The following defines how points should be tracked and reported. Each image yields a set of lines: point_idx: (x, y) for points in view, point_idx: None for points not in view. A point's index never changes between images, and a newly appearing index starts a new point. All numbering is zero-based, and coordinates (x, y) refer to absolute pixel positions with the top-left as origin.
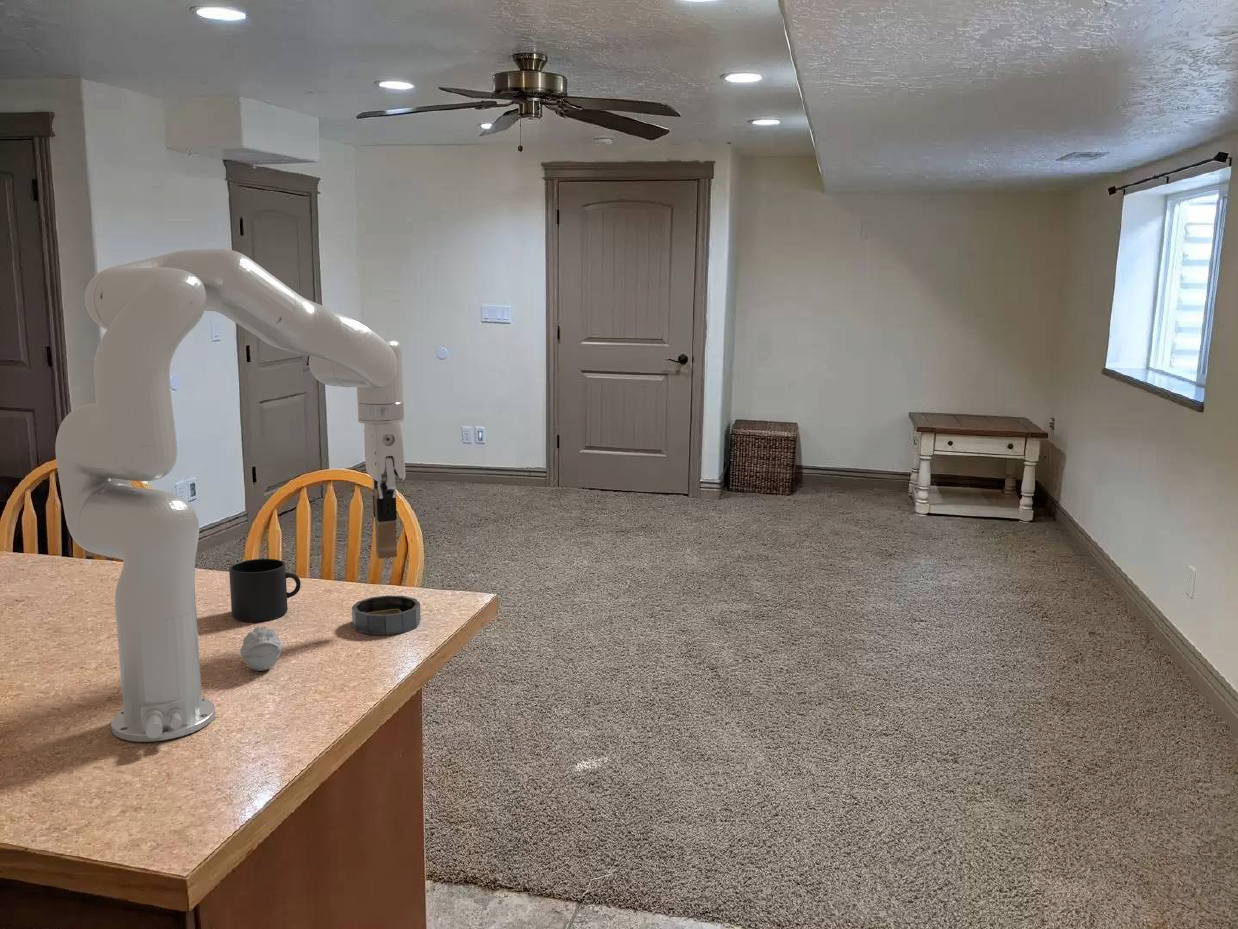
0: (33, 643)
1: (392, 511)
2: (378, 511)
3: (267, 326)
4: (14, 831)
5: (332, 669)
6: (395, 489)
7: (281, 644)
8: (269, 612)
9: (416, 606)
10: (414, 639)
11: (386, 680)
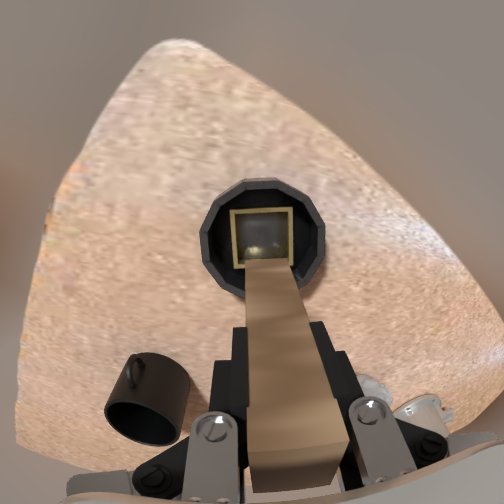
0: None
1: (348, 361)
2: None
3: None
4: (463, 426)
5: (396, 320)
6: (401, 433)
7: (375, 383)
8: (185, 380)
9: (293, 191)
10: (349, 206)
11: (450, 269)
